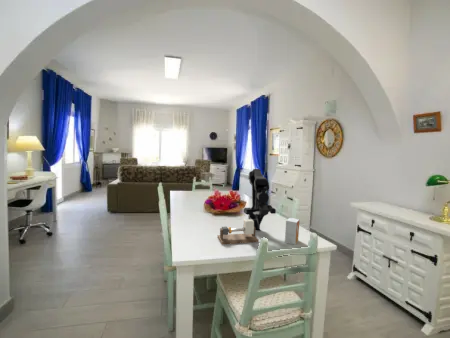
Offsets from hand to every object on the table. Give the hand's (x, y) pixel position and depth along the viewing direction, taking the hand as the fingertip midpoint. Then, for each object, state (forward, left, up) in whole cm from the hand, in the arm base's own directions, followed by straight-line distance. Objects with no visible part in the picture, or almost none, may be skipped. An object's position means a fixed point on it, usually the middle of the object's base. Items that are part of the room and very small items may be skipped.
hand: (259, 224), depth 143 cm
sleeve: (+7, 0, -5) cm, 8 cm away
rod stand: (+13, 0, -8) cm, 16 cm away
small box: (-18, +8, -9) cm, 21 cm away
